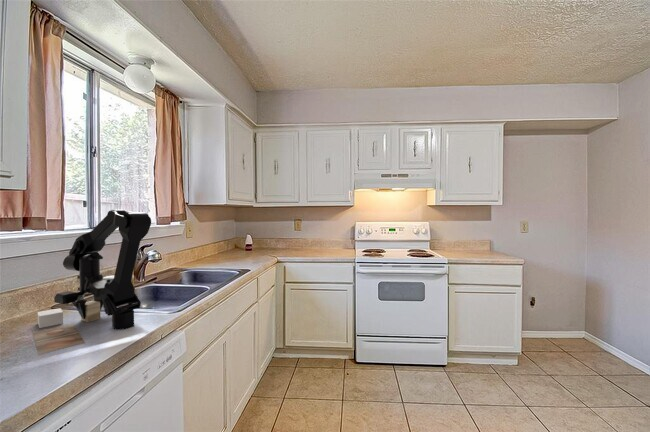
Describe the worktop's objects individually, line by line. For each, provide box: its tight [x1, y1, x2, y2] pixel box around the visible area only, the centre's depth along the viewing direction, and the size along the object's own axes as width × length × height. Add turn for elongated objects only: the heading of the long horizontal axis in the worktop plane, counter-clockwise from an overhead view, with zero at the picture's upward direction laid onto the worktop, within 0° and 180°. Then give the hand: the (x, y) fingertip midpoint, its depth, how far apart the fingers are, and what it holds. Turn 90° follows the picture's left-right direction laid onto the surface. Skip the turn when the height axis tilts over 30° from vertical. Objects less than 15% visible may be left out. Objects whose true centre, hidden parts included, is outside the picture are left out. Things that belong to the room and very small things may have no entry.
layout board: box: [31, 323, 86, 355], centre depth 96 cm, size 22×10×1 cm, turn 46°
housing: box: [37, 307, 64, 329], centre depth 108 cm, size 6×6×5 cm
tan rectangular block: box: [80, 300, 101, 323], centre depth 111 cm, size 4×4×7 cm
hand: (90, 316), depth 111 cm, fingers closed on tan rectangular block, 4 cm apart
